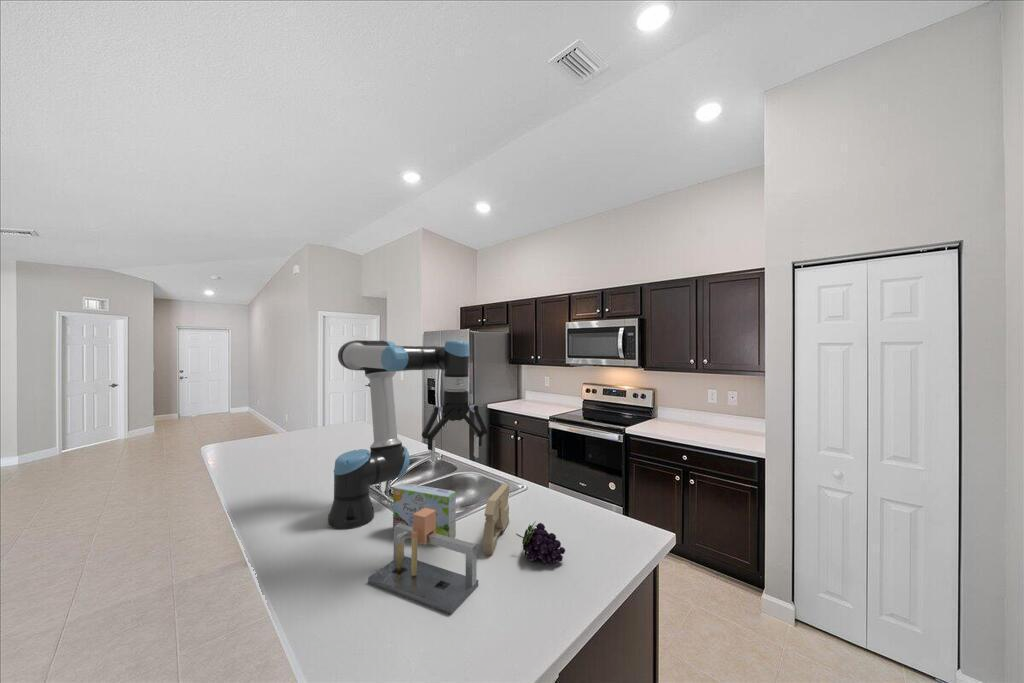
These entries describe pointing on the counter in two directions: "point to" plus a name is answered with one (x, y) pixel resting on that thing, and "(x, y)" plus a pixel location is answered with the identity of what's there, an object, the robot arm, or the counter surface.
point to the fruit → (541, 544)
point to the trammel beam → (442, 541)
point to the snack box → (425, 506)
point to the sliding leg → (421, 532)
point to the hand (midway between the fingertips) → (454, 458)
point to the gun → (495, 518)
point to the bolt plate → (424, 585)
